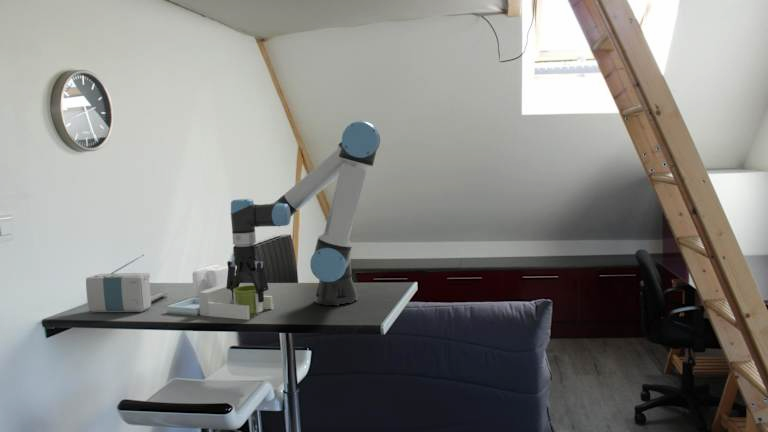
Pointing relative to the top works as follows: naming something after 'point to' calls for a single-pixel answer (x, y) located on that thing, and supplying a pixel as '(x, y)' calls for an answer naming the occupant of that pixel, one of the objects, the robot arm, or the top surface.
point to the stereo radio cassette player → (118, 292)
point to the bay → (226, 304)
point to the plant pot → (246, 297)
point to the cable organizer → (209, 278)
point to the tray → (185, 307)
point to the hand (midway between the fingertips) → (248, 310)
